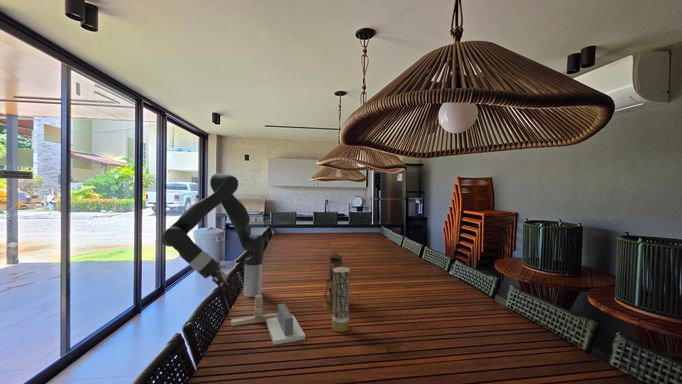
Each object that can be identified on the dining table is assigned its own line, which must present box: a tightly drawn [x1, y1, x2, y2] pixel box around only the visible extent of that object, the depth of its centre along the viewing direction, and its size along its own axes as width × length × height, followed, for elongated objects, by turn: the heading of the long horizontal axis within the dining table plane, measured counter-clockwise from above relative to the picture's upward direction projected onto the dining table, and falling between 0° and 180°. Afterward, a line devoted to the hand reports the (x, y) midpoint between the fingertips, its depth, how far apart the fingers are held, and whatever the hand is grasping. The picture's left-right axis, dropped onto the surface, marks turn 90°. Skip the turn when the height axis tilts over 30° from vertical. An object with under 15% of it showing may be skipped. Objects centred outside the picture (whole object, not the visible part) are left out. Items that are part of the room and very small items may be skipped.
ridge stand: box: [265, 303, 306, 346], centre depth 115 cm, size 20×12×8 cm, turn 23°
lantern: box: [322, 249, 344, 311], centre depth 143 cm, size 17×13×30 cm
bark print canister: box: [331, 266, 351, 333], centre depth 117 cm, size 7×7×25 cm
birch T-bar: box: [230, 294, 278, 327], centre depth 123 cm, size 3×22×11 cm, turn 113°
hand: (233, 289), depth 119 cm, fingers open, 8 cm apart
